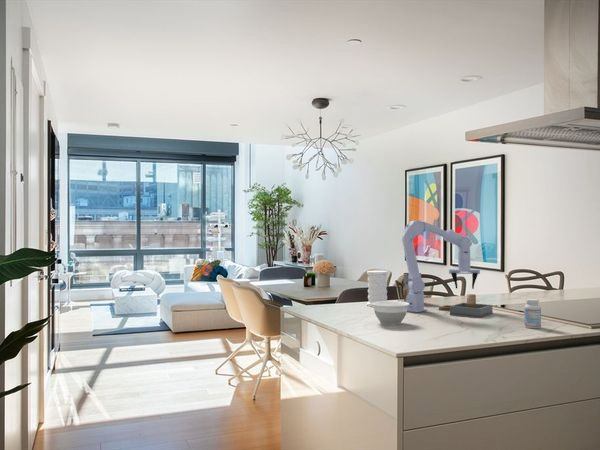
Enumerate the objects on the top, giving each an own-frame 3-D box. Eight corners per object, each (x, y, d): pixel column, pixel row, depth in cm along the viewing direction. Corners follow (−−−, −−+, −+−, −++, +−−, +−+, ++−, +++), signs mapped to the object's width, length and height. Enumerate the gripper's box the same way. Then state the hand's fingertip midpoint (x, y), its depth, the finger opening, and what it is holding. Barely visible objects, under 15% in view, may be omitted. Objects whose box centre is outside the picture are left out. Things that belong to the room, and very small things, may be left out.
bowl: (365, 322, 239) (365, 302, 239) (397, 319, 244) (397, 300, 244) (383, 327, 224) (383, 306, 224) (417, 325, 229) (416, 304, 229)
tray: (480, 317, 246) (480, 308, 246) (449, 314, 255) (449, 306, 255) (492, 313, 257) (492, 304, 257) (462, 310, 266) (462, 302, 266)
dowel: (474, 312, 253) (473, 295, 253) (465, 312, 256) (465, 294, 256) (477, 311, 256) (477, 294, 256) (468, 310, 259) (468, 293, 259)
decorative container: (381, 303, 296) (381, 270, 297) (393, 306, 286) (392, 271, 286) (362, 304, 292) (362, 271, 292) (373, 307, 281) (373, 272, 281)
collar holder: (454, 311, 265) (454, 308, 265) (438, 309, 270) (438, 306, 270) (461, 309, 271) (461, 306, 271) (445, 308, 276) (445, 305, 277)
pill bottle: (527, 325, 225) (526, 298, 225) (543, 327, 221) (542, 299, 221) (522, 327, 220) (522, 299, 220) (538, 329, 216) (538, 300, 216)
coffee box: (422, 302, 300) (421, 272, 300) (421, 303, 294) (420, 273, 294) (404, 301, 302) (404, 272, 303) (403, 303, 296) (403, 273, 296)
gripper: (479, 260, 272) (480, 287, 272) (449, 260, 276) (449, 287, 276) (479, 261, 265) (480, 289, 265) (448, 261, 270) (449, 288, 269)
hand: (464, 288), depth 270 cm, fingers open, 7 cm apart
